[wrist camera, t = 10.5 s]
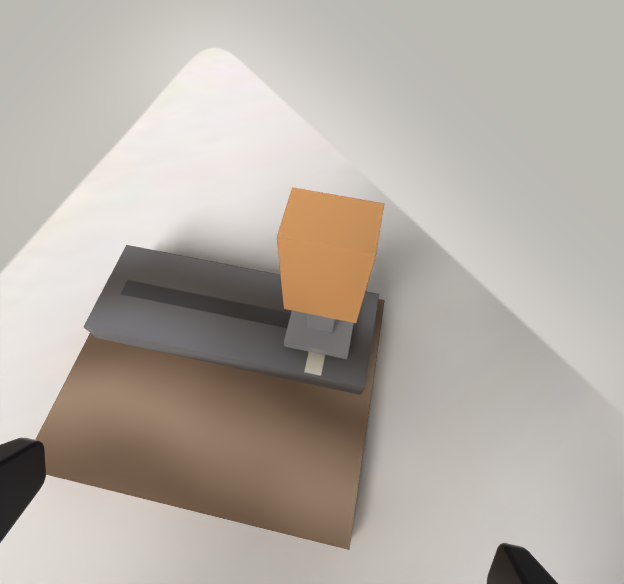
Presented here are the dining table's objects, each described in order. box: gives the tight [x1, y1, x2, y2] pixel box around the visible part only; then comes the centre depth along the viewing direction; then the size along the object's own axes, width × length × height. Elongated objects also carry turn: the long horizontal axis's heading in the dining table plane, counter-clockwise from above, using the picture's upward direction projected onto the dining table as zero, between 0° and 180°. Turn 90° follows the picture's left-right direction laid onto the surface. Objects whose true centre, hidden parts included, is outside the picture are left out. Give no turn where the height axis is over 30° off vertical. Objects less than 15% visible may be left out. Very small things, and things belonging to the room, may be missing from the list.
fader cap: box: [277, 188, 384, 359], centre depth 16 cm, size 3×3×8 cm
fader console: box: [36, 245, 385, 550], centre depth 20 cm, size 12×15×3 cm
